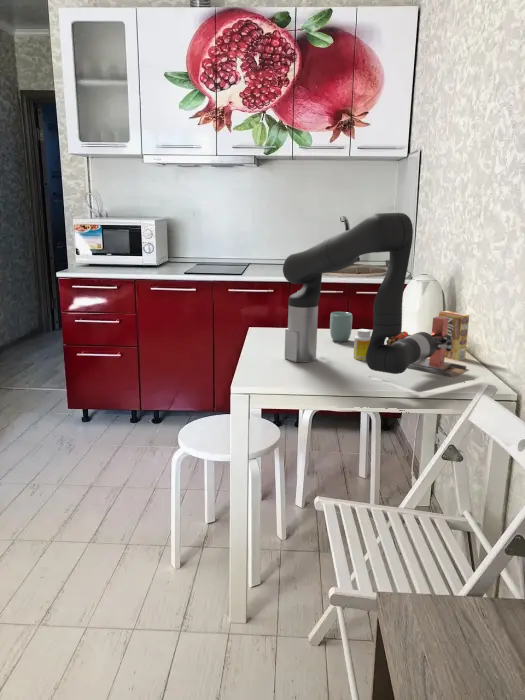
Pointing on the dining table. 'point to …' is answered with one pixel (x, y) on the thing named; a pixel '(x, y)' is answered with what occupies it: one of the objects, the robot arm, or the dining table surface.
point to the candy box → (456, 334)
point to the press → (450, 372)
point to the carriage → (438, 357)
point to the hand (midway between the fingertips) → (442, 337)
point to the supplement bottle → (361, 344)
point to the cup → (340, 326)
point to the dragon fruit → (396, 338)
